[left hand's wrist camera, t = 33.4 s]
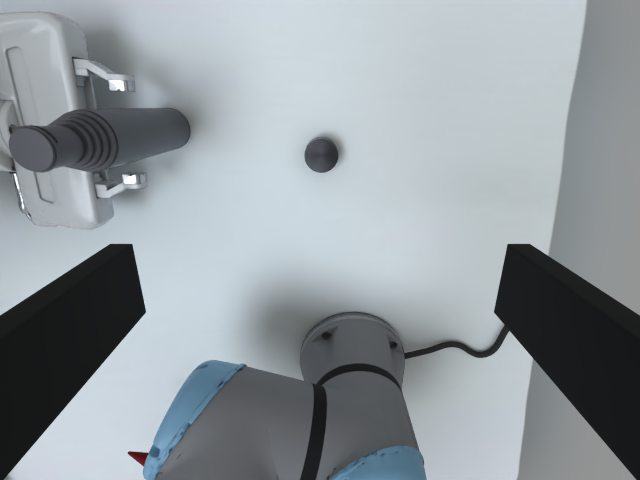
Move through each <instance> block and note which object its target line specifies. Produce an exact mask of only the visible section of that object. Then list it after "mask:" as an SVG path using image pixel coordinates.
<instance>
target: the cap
mask: <svg viewBox="0 0 640 480" xmlns="http://www.w3.org/2000/svg"><path fill="white" fill-rule="evenodd" d="M337 160H338V151H337V148H336V146H335V144H334V143H333V142H332V141H331V140H330V139H328V138H325V137H317V138H315V139H313V140H311V141H310V142H309V144H308V145H307V147H306V150H305V161H306V163H307V165H308V166H309V168H311V169H312V170H313V171H316V172H320V173H323V172H327V171H329V170H331V169H332V168H333V167H334V166H335V165H336V163H337Z"/></svg>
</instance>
